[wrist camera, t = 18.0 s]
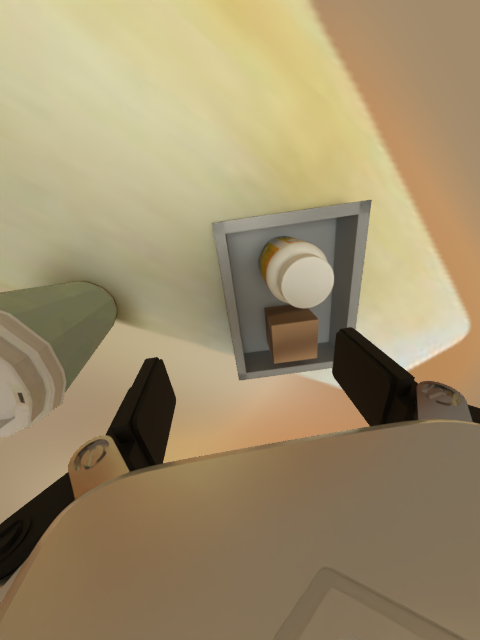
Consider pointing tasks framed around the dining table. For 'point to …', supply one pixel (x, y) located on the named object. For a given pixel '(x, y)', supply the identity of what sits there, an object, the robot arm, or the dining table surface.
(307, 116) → the dining table surface
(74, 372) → the disposable coffee cup
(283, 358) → the walnut cube
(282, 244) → the supplement bottle
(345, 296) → the tote
